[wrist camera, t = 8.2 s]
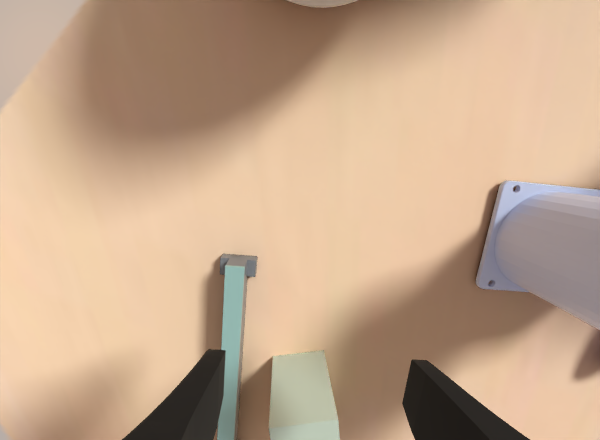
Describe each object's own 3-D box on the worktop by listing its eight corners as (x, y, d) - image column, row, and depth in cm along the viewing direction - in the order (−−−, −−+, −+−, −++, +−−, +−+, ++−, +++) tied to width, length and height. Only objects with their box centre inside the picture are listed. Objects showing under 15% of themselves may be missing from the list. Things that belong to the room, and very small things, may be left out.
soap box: (329, 422, 23) (345, 509, 18) (282, 428, 23) (281, 518, 17) (323, 349, 22) (338, 419, 16) (272, 355, 22) (268, 428, 16)
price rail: (257, 256, 20) (254, 268, 18) (243, 457, 24) (239, 487, 22) (223, 253, 20) (215, 265, 18) (214, 456, 23) (207, 487, 21)
